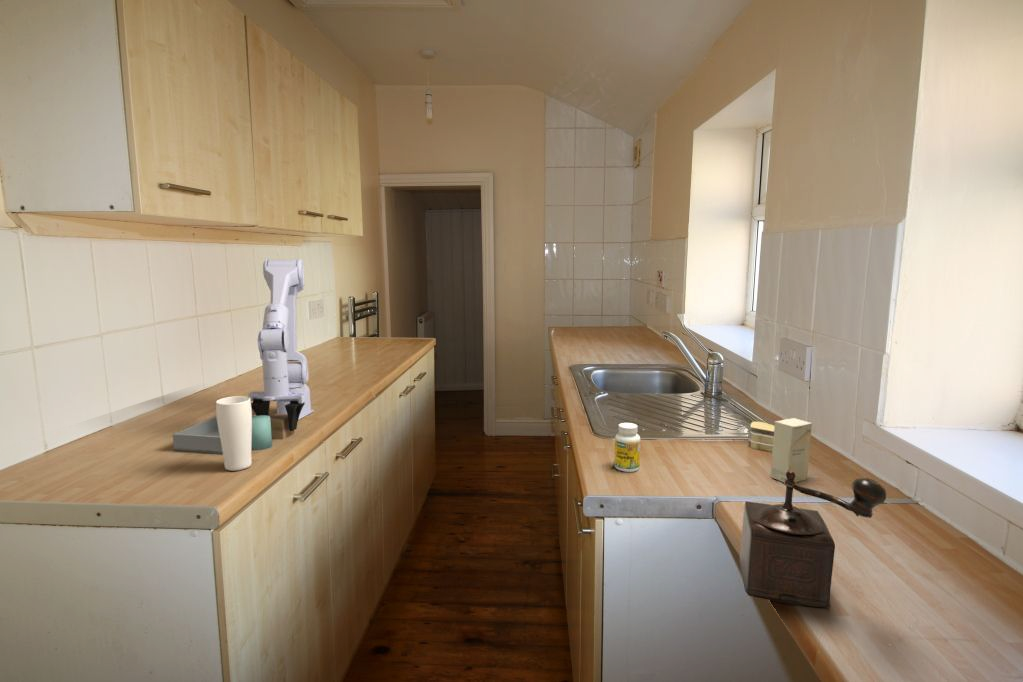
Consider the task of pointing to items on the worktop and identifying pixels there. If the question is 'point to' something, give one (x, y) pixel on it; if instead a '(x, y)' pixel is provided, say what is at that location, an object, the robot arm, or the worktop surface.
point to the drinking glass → (235, 431)
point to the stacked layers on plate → (762, 436)
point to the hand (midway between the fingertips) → (279, 429)
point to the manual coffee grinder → (796, 545)
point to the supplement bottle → (627, 448)
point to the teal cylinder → (261, 432)
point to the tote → (199, 438)
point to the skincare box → (791, 449)
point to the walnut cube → (280, 426)
